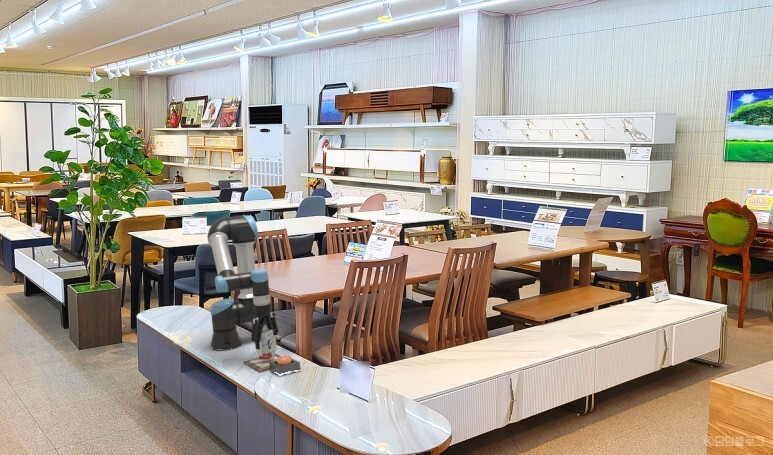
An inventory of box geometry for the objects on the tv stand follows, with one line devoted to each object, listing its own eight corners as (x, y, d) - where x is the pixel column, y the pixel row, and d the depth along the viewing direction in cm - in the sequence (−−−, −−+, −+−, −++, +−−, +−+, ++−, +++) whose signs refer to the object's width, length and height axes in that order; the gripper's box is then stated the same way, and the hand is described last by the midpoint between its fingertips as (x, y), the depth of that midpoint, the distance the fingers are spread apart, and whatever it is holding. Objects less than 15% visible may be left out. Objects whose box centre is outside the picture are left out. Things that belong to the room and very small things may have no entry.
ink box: (268, 359, 305) (266, 334, 303) (258, 359, 306) (256, 334, 304) (275, 353, 313) (273, 328, 312) (265, 354, 314) (263, 329, 313)
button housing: (269, 371, 298) (269, 362, 298) (290, 366, 304) (289, 357, 303) (279, 376, 290) (278, 367, 290) (300, 371, 296) (299, 362, 295)
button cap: (275, 366, 298) (274, 357, 297) (288, 363, 301) (287, 354, 300) (281, 369, 293) (280, 360, 292) (294, 366, 296) (293, 357, 295)
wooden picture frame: (243, 363, 313) (243, 361, 313) (275, 355, 322) (275, 353, 321) (259, 372, 298) (259, 369, 298) (292, 364, 307) (292, 361, 306)
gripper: (252, 310, 295) (257, 360, 298) (283, 298, 314) (288, 346, 317) (239, 309, 299) (244, 359, 301) (270, 298, 318) (275, 345, 320)
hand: (266, 352), depth 309 cm, fingers closed on ink box, 9 cm apart
